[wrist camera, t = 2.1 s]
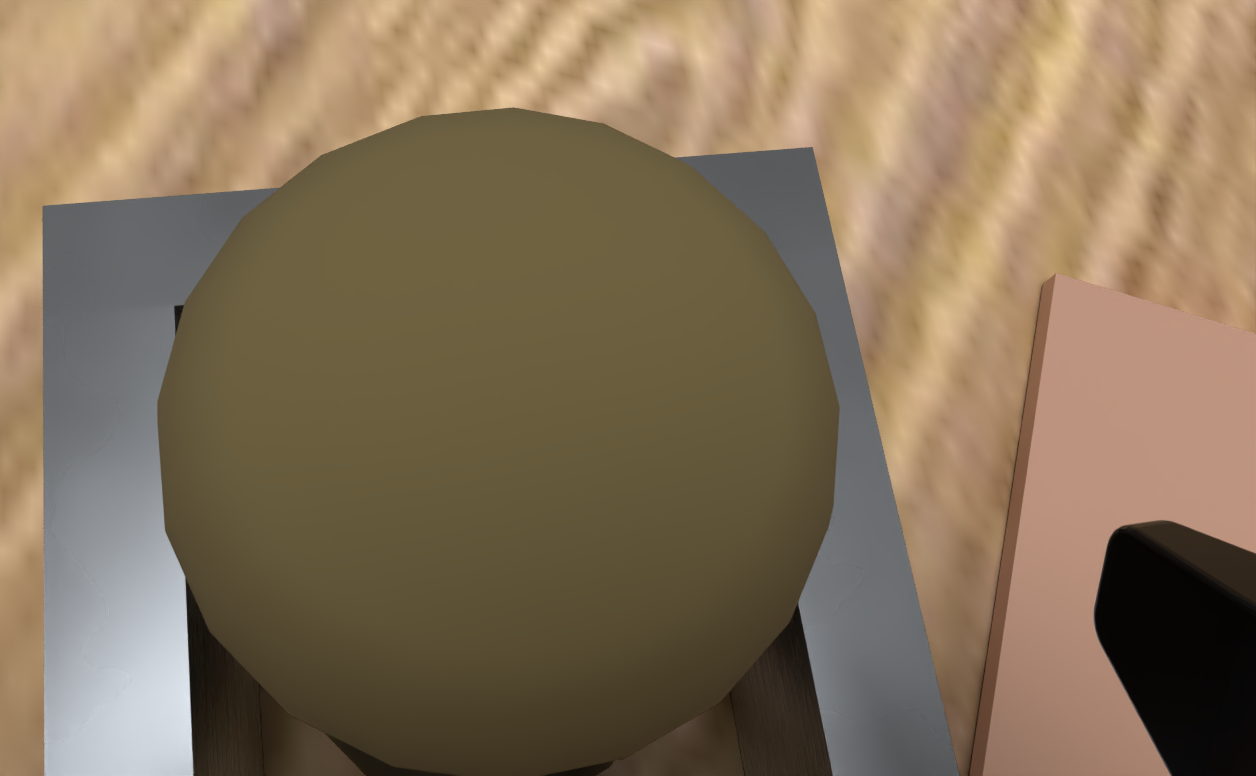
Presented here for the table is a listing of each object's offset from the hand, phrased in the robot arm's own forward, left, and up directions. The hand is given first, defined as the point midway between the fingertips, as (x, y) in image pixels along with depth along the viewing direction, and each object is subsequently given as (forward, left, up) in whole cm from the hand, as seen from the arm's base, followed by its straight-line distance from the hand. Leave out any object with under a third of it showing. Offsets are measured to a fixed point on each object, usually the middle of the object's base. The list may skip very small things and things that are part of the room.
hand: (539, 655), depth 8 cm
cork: (+2, -1, -10) cm, 10 cm away
